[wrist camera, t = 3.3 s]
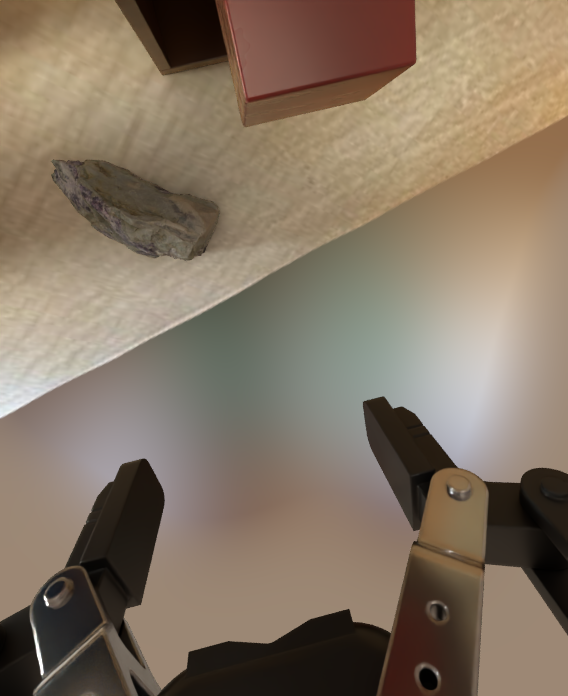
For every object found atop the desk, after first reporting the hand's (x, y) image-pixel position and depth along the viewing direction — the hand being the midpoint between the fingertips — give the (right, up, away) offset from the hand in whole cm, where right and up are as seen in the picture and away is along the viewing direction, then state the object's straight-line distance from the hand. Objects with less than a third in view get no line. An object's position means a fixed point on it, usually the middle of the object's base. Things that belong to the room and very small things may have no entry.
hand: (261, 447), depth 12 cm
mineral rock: (-12, +18, +21) cm, 31 cm away
